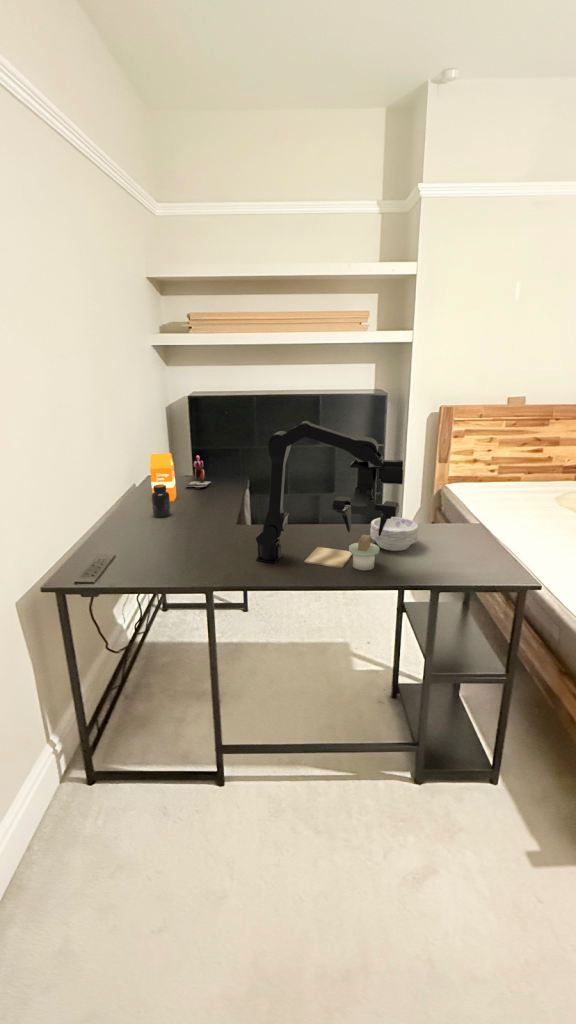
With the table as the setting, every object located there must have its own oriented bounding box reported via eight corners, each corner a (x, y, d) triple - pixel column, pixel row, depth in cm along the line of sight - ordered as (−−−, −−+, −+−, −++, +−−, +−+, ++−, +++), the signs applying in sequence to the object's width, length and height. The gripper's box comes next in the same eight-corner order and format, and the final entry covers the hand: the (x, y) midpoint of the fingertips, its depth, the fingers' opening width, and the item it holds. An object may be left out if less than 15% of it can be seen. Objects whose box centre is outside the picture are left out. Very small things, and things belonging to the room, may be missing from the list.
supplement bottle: (149, 517, 205) (146, 487, 201) (159, 511, 211) (156, 482, 207) (165, 518, 203) (162, 488, 199) (174, 513, 209) (171, 484, 205)
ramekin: (350, 568, 157) (350, 552, 155) (356, 560, 162) (356, 545, 161) (371, 571, 154) (372, 555, 153) (376, 563, 160) (377, 548, 159)
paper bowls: (418, 540, 178) (420, 517, 175) (414, 557, 164) (416, 533, 162) (373, 535, 182) (374, 514, 180) (366, 552, 169) (367, 528, 166)
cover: (345, 553, 155) (345, 541, 153) (353, 543, 162) (353, 531, 161) (375, 558, 151) (375, 545, 150) (382, 547, 159) (383, 534, 158)
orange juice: (156, 496, 231) (152, 451, 225) (176, 495, 232) (172, 451, 225) (153, 501, 224) (148, 455, 217) (174, 501, 224) (170, 455, 218)
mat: (304, 562, 161) (304, 560, 161) (317, 548, 172) (317, 546, 172) (342, 568, 157) (342, 566, 157) (353, 553, 167) (353, 551, 167)
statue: (192, 485, 252) (191, 454, 249) (211, 486, 250) (210, 454, 247) (184, 489, 241) (182, 456, 238) (203, 489, 240) (202, 456, 237)
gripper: (326, 486, 147) (325, 538, 152) (392, 493, 140) (389, 547, 145) (338, 477, 156) (337, 526, 161) (401, 482, 150) (398, 534, 154)
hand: (364, 533), depth 155 cm, fingers open, 9 cm apart
